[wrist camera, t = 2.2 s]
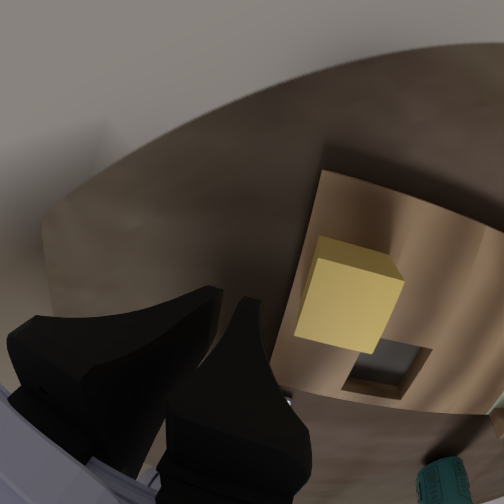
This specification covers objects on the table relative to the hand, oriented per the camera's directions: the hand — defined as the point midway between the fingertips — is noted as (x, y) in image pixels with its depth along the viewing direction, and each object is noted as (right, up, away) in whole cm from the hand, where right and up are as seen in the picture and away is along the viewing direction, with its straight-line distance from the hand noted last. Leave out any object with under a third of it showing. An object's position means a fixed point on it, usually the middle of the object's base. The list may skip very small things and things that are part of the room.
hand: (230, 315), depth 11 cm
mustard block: (+7, +1, +7) cm, 9 cm away
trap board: (+18, -4, +7) cm, 20 cm away
